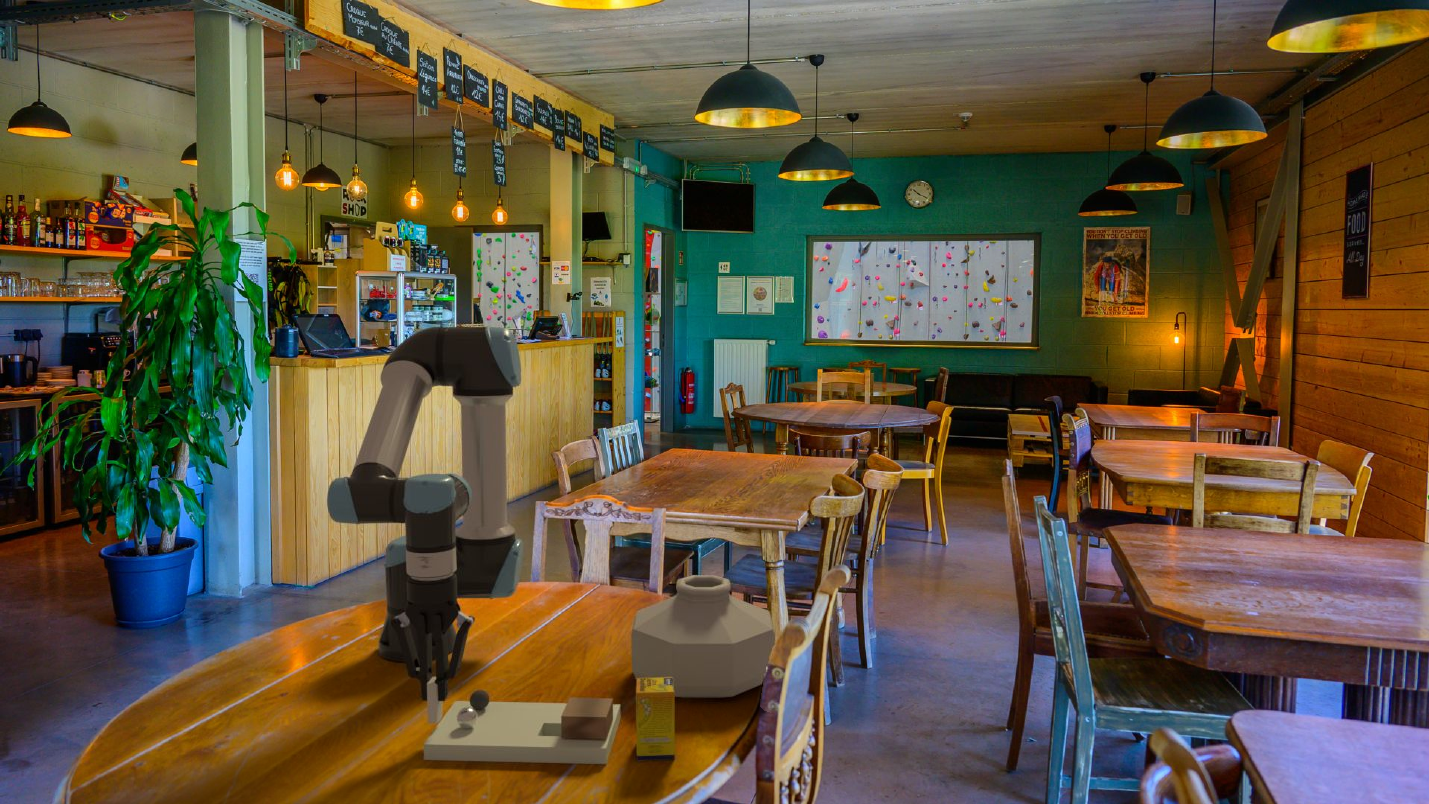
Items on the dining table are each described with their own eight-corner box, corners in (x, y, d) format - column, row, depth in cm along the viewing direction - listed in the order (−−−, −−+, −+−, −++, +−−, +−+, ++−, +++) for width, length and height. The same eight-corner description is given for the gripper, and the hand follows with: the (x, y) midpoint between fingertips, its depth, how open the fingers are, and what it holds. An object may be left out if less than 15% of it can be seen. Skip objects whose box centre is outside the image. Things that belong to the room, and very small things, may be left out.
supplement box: (635, 743, 153) (635, 677, 152) (673, 742, 153) (673, 676, 152) (635, 761, 147) (635, 692, 146) (675, 760, 148) (675, 691, 146)
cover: (561, 738, 149) (561, 716, 148) (569, 718, 155) (569, 697, 155) (606, 739, 148) (606, 717, 148) (613, 719, 155) (612, 698, 155)
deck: (423, 759, 147) (423, 744, 147) (455, 715, 163) (455, 701, 163) (606, 764, 146) (606, 748, 146) (620, 718, 162) (620, 704, 162)
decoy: (467, 713, 158) (466, 694, 158) (473, 704, 161) (472, 686, 161) (486, 713, 158) (486, 694, 158) (491, 705, 161) (491, 686, 161)
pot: (608, 663, 187) (608, 569, 185) (739, 643, 198) (740, 555, 196) (657, 720, 162) (657, 612, 160) (805, 694, 173) (806, 593, 171)
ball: (454, 731, 151) (453, 712, 151) (460, 723, 154) (460, 703, 154) (474, 732, 151) (474, 712, 151) (480, 723, 154) (479, 704, 154)
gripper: (381, 580, 147) (385, 729, 149) (465, 582, 146) (468, 731, 149) (399, 567, 154) (403, 708, 157) (480, 568, 154) (482, 710, 156)
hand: (435, 719), depth 153 cm, fingers closed
